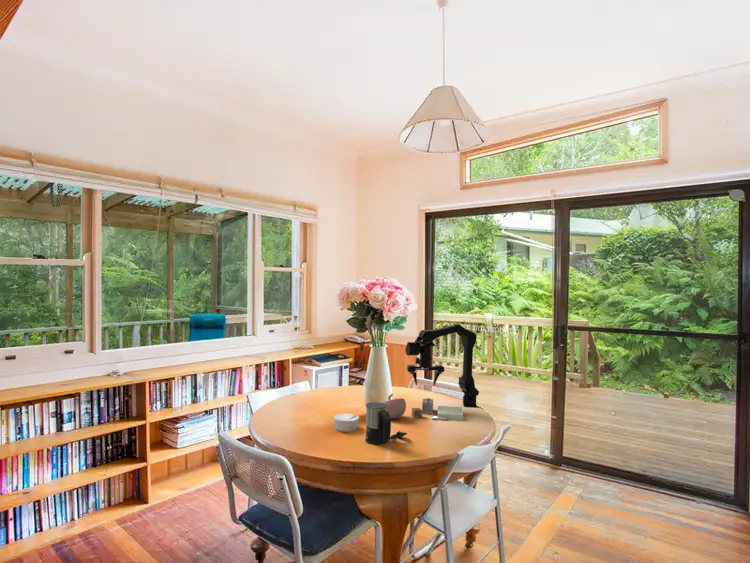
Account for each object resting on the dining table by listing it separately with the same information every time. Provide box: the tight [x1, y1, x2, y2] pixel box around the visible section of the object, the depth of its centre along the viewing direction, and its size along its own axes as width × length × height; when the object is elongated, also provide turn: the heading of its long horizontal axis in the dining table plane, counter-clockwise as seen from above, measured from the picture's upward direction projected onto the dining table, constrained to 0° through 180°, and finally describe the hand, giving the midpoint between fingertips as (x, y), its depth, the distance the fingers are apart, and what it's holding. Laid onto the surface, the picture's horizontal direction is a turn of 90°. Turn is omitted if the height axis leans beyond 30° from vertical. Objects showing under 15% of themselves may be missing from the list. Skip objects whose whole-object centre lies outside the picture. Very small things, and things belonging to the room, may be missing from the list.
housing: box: [421, 397, 434, 415], centre depth 225 cm, size 5×8×6 cm, turn 171°
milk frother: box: [364, 401, 408, 445], centre depth 184 cm, size 14×16×15 cm
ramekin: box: [333, 412, 360, 433], centre depth 198 cm, size 11×11×5 cm
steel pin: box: [431, 415, 448, 422], centre depth 213 cm, size 7×2×2 cm
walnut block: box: [411, 407, 423, 420], centre depth 216 cm, size 4×4×4 cm
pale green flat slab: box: [437, 405, 464, 421], centre depth 220 cm, size 12×14×3 cm
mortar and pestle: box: [382, 393, 407, 420], centre depth 214 cm, size 12×12×12 cm
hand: (425, 385), depth 229 cm, fingers open, 9 cm apart
